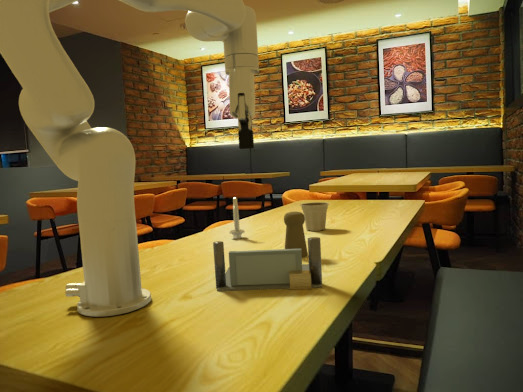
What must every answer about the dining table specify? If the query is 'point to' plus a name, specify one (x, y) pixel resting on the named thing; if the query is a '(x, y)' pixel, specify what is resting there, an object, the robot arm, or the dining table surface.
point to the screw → (236, 221)
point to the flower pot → (315, 215)
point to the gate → (263, 266)
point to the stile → (314, 274)
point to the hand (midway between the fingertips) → (246, 148)
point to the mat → (260, 286)
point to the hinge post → (219, 264)
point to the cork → (295, 232)
